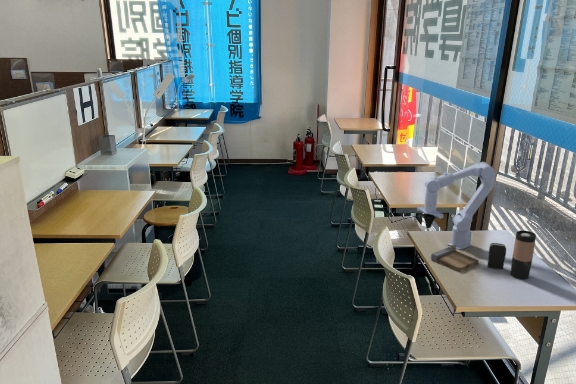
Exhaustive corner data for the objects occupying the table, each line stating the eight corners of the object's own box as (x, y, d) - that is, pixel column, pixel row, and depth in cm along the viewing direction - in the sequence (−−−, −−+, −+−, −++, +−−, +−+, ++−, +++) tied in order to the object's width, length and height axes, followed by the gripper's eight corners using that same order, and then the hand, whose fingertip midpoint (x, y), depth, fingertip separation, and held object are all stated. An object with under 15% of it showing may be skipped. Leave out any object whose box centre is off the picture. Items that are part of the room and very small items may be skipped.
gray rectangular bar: (448, 252, 217) (449, 247, 216) (453, 254, 214) (454, 249, 213) (430, 259, 210) (431, 253, 209) (436, 261, 207) (436, 256, 206)
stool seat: (452, 252, 218) (453, 244, 217) (479, 263, 206) (480, 255, 205) (431, 259, 210) (432, 252, 209) (459, 272, 198) (459, 264, 197)
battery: (503, 266, 203) (506, 243, 200) (503, 269, 200) (507, 246, 196) (486, 263, 205) (489, 241, 202) (486, 267, 202) (490, 244, 199)
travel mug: (527, 272, 197) (534, 231, 190) (530, 281, 190) (537, 238, 184) (508, 270, 199) (515, 229, 193) (510, 278, 192) (517, 236, 186)
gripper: (413, 200, 223) (411, 224, 227) (437, 207, 212) (434, 234, 216) (423, 197, 227) (421, 222, 231) (446, 205, 215) (444, 230, 220)
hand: (428, 227), depth 224 cm, fingers closed
